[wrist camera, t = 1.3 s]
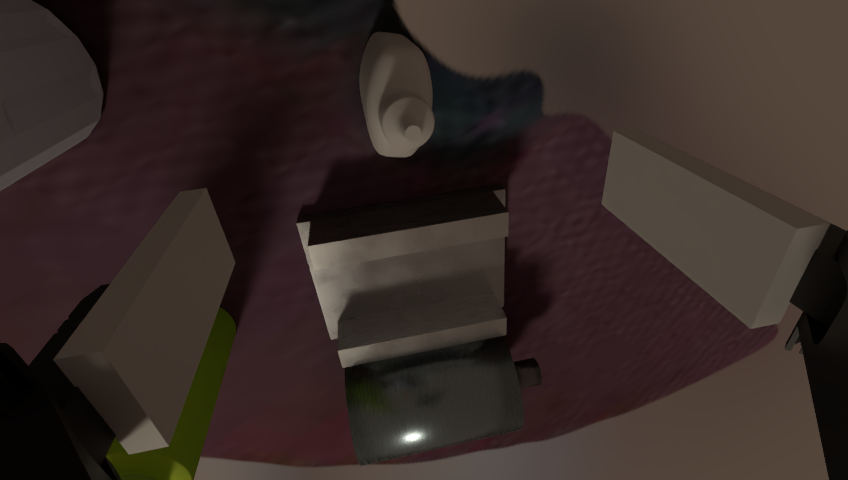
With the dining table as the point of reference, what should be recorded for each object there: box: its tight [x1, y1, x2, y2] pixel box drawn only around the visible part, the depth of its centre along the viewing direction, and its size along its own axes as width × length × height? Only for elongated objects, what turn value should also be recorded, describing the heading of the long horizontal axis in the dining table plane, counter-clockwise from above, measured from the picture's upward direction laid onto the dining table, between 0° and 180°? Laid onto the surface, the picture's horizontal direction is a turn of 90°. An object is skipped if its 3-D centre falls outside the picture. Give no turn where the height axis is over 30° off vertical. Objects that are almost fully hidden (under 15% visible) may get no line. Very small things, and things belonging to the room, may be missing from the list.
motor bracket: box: [297, 184, 542, 466], centre depth 35 cm, size 22×18×9 cm
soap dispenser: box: [106, 307, 236, 480], centre depth 27 cm, size 6×7×20 cm
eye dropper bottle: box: [359, 32, 435, 157], centre depth 23 cm, size 4×6×12 cm
